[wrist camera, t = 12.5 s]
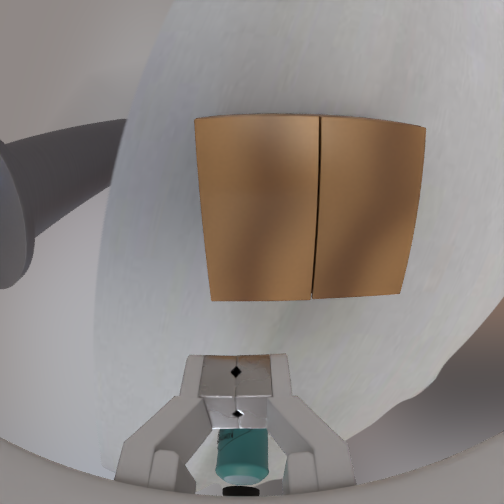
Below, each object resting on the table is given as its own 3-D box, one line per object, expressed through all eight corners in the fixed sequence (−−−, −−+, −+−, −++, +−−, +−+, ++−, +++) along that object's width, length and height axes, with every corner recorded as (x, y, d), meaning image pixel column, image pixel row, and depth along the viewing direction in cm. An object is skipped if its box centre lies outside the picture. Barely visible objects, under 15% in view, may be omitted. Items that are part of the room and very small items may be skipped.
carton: (223, 242, 31) (210, 301, 22) (215, 115, 25) (192, 118, 16) (363, 240, 31) (400, 294, 22) (372, 118, 25) (427, 127, 16)
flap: (212, 298, 22) (211, 301, 22) (195, 119, 17) (194, 119, 16) (309, 297, 22) (310, 300, 22) (317, 116, 16) (319, 116, 16)
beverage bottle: (275, 370, 40) (281, 502, 22) (257, 394, 43) (257, 512, 25) (232, 359, 39) (220, 496, 21) (217, 385, 42) (204, 506, 24)
